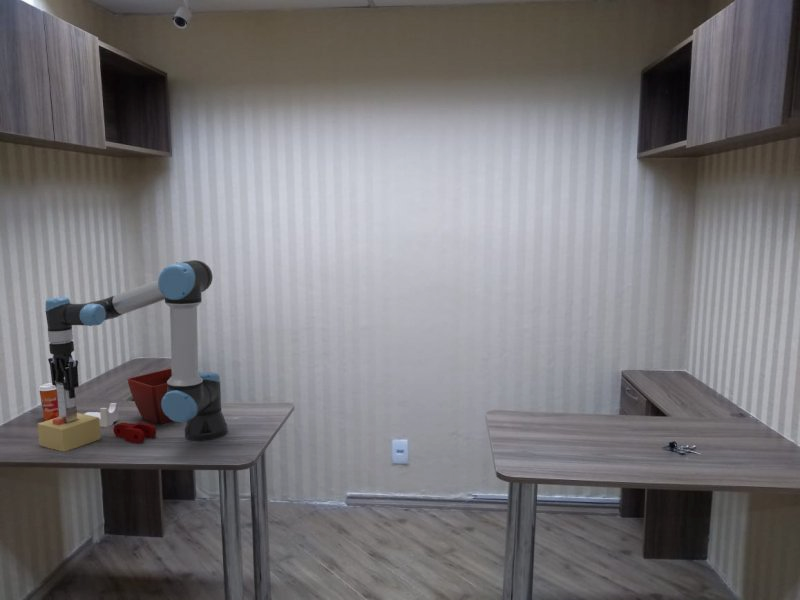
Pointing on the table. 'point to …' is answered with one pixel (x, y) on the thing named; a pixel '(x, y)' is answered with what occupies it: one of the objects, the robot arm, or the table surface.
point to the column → (65, 404)
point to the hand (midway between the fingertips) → (67, 405)
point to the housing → (69, 432)
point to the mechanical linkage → (134, 431)
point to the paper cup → (49, 401)
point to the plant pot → (150, 394)
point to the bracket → (106, 415)
